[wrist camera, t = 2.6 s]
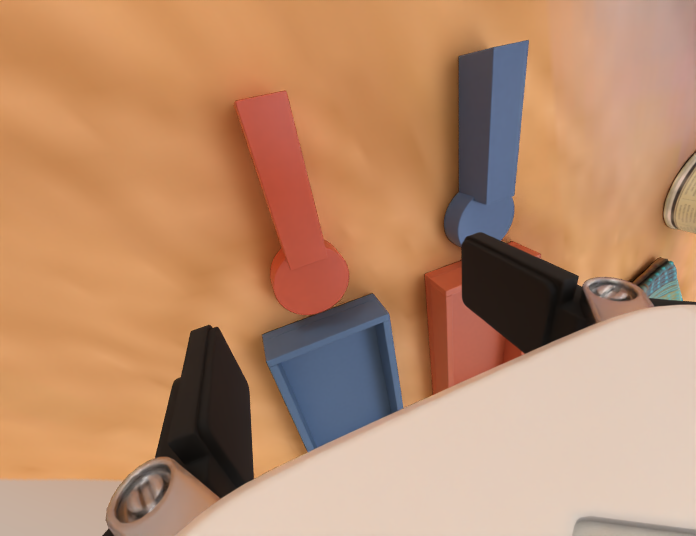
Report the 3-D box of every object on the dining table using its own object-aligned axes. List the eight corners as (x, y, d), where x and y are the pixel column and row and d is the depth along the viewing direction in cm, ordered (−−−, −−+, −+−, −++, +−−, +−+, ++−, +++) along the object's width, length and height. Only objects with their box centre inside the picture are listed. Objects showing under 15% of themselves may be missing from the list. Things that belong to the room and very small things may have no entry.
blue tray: (261, 334, 23) (266, 361, 20) (372, 293, 25) (389, 313, 22) (315, 457, 31) (323, 486, 29) (395, 419, 33) (408, 444, 31)
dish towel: (599, 402, 51) (615, 415, 49) (554, 353, 39) (573, 367, 37) (679, 328, 49) (699, 338, 47) (658, 251, 37) (684, 259, 35)
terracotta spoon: (206, 108, 16) (202, 107, 13) (302, 88, 17) (315, 84, 14) (282, 311, 23) (289, 336, 20) (347, 288, 24) (361, 309, 21)
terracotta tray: (424, 274, 26) (445, 291, 23) (512, 241, 28) (541, 253, 25) (433, 401, 34) (449, 424, 32) (499, 369, 36) (520, 388, 34)
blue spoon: (439, 60, 19) (472, 51, 16) (508, 45, 20) (549, 35, 17) (444, 253, 25) (468, 268, 23) (495, 234, 26) (523, 247, 24)
